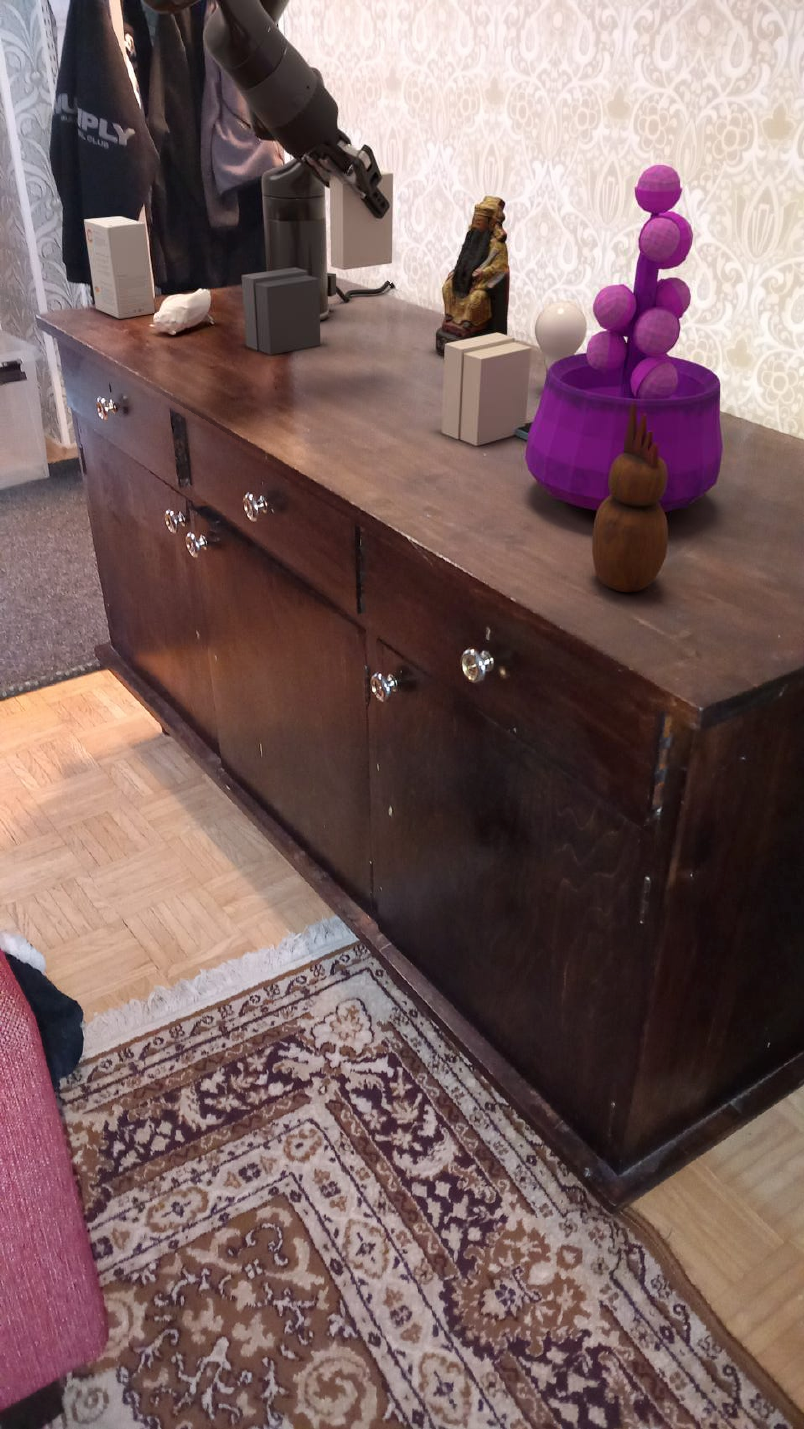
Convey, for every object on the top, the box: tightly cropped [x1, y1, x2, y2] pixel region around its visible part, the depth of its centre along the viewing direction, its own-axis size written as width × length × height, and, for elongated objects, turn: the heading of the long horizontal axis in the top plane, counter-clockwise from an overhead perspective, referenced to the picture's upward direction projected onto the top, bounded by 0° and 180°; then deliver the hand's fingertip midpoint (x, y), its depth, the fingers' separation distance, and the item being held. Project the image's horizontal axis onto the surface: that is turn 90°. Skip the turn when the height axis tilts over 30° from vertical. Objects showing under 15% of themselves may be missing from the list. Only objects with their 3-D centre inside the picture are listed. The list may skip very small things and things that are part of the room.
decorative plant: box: [524, 164, 724, 513], centre depth 98 cm, size 19×18×30 cm
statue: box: [435, 195, 511, 356], centre depth 143 cm, size 12×8×20 cm, turn 29°
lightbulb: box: [534, 300, 588, 377], centre depth 133 cm, size 6×6×11 cm
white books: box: [441, 333, 532, 447], centre depth 120 cm, size 6×8×10 cm
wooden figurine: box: [591, 402, 669, 593], centre depth 87 cm, size 7×6×15 cm
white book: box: [329, 170, 394, 271], centre depth 128 cm, size 3×8×10 cm, turn 129°
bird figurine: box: [149, 288, 215, 336], centre depth 157 cm, size 5×7×10 cm
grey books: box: [241, 267, 322, 356], centre depth 149 cm, size 6×9×10 cm, turn 130°
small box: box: [83, 215, 156, 320], centre depth 163 cm, size 8×6×13 cm
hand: (375, 210), depth 129 cm, fingers closed on white book, 2 cm apart
